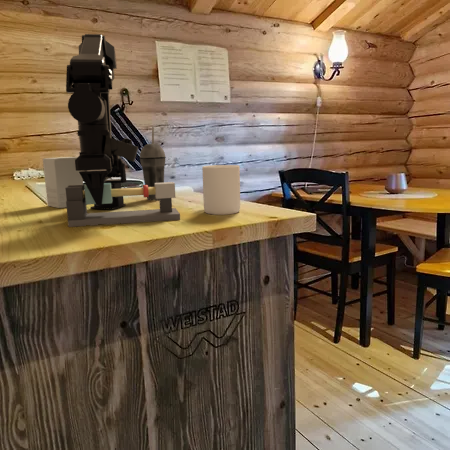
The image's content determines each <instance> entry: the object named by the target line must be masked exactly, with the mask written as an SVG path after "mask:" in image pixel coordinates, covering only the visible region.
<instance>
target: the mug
mask: <svg viewBox="0 0 450 450" xmlns="http://www.w3.org/2000/svg"><path fill="white" fill-rule="evenodd" d="M201 168H202V169H201V171H202V187H203V188H202V194H203V210H204V212H205V213H206V214H209V215H215V216H217V215H219V216H220V215H221V216H225V215H233V214H234V215H235V214H237V213H239V212H240V210H241V179H240V178H241V177H240V176H241V174H240V172H241V171H240V165H239V164H238V165H237V164H217V165H215V164H214V165H213V164H212V165H203V166H201Z"/></svg>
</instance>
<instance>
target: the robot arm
mask: <svg viewBox="0 0 450 450" xmlns="http://www.w3.org/2000/svg"><path fill="white" fill-rule="evenodd" d="M117 65H118V64H117V55H116V49H115V46H114V45H112V44H111V43H110V42H108V40H106V35H103V34H102V33H101V34H99V33H85V34H82V35H81V43H80V44H79V45H78V55H73V56H72V57H71V58H70V60H69V64H67V65H66V76H65V77H66V78H65V91H66V93H67V94H70V97H69V99H68V103H67V109H68V111H69V114H70V116H72V118H73V119H74V120H76V121H77V128H78V129H77V137H78V138H79V139H78V140H79V149H80V151H79V152H78V154H79V155H78V158H77V159H76V160H75V167H76V171H79V174H80V175H81V177H82V178H83V183H85V184H84V185H86V186H87V188H88V190H89V191H90V193H91V195H92V197H93V199H94V201H95V203H96V204H93V206H90V210H115V209H118V208H122V207H126V205H127V204H126V203H125V202H124V196H117V197H112V203H108V204H102V199H103V190H104V183H111V189H122V188H123V187H122V184H124V183H127V172H126V171H127V170H126V164H125V162H124V161H123V159H122V158H124V159H126V160H128V161H131V162H135V160H136V157H137V153H138V150H139V146H137V145H134V144H133V141H132V139H130V138H127V137H124V138H123V139H122V140H119V139H115V138H112V123H111V105H110V104H111V103H110V102H111V101H110V90H113V81H114V79H115V70H116V69H117ZM108 178H109V179H108Z"/></svg>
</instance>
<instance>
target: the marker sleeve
mask: <svg viewBox="0 0 450 450" xmlns="http://www.w3.org/2000/svg"><path fill="white" fill-rule="evenodd" d="M84 190H85V198H86V206H87V205H94V204H96V203H95V201H94V199H93V197H92V195H91V193H90V191H89V190H88V188H87V186H86V184H84ZM108 203H112V197H111V183H104V190H103V199H102V204H108Z"/></svg>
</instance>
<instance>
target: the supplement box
mask: <svg viewBox="0 0 450 450" xmlns="http://www.w3.org/2000/svg"><path fill="white" fill-rule="evenodd" d="M77 158H78V157H77V156H64V157H63V156H62V157H47V158H42V165H43V167H42V168H43V174H44V176H43V177H44V182H45V192H46V193H45V194H46V202H47V207H53V208H57V209H62V208H63V209H64V208H67V206H66V201H67V199H66V189H65V188H66V187H68V186H69V185H84V180H83V178H82V177H81V175H80V174H79V171H76V167H75V160H76V159H77Z"/></svg>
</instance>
